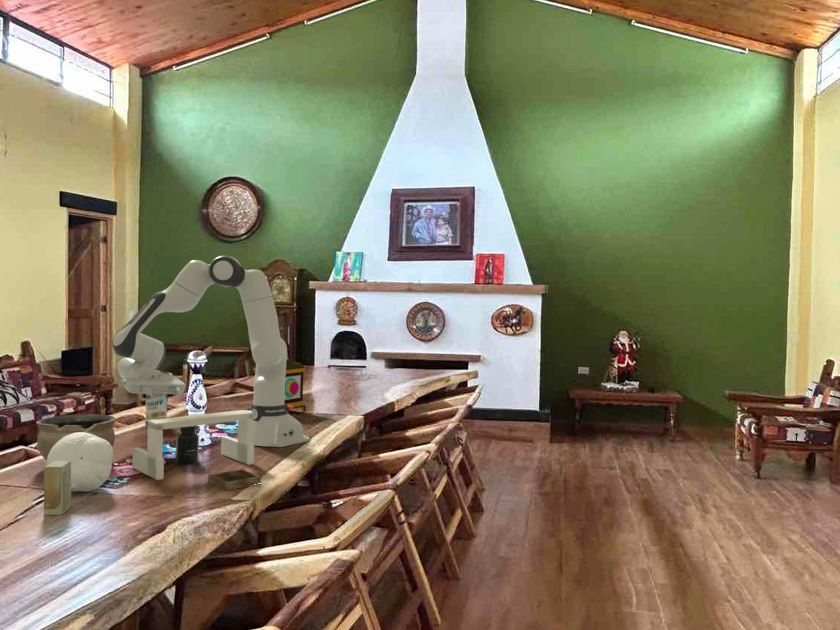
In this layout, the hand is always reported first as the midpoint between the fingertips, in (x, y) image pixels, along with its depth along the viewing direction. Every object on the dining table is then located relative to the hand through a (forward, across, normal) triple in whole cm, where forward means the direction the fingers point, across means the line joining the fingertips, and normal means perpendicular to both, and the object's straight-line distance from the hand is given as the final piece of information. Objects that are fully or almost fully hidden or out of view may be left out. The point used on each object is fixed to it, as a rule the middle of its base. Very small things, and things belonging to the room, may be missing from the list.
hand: (166, 393), depth 241 cm
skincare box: (+42, -47, +17) cm, 65 cm away
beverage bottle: (-40, +24, +27) cm, 54 cm away
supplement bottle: (+19, +2, +17) cm, 25 cm away
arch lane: (+23, +1, +16) cm, 28 cm away
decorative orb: (+28, -35, +19) cm, 49 cm away
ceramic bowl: (+2, -26, +24) cm, 35 cm away
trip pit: (+48, -1, +10) cm, 49 cm away
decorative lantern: (-35, +79, +20) cm, 88 cm away
